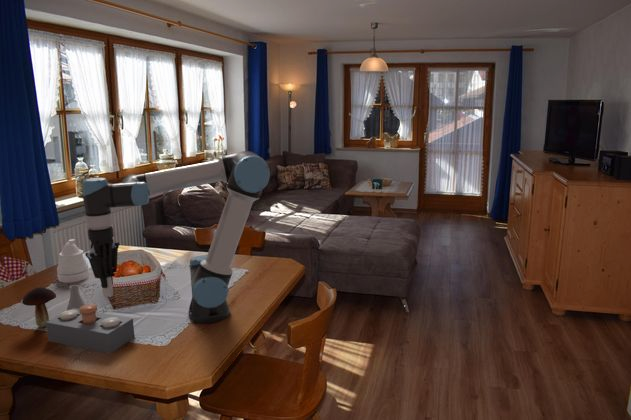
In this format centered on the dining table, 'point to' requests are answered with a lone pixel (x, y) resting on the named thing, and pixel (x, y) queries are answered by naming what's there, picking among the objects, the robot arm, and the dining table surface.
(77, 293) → the flask
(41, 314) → the decorative mushroom
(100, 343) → the grey rectangular block
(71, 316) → the far knob
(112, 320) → the near knob
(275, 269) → the dining table surface
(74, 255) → the honey pot
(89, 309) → the middle knob
